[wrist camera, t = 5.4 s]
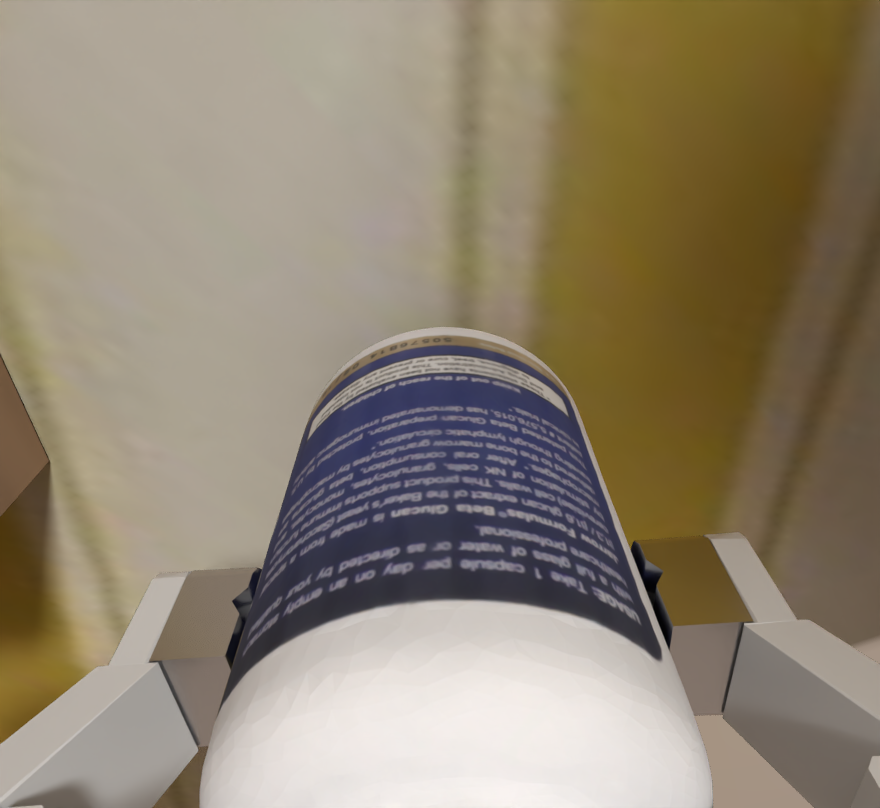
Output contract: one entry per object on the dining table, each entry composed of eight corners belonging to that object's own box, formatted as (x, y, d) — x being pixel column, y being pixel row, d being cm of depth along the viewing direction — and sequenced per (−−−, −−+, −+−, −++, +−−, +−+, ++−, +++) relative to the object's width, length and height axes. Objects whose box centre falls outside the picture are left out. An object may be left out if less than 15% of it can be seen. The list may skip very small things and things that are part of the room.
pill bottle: (250, 399, 12) (-153, 1232, 4) (506, 265, 11) (762, 1069, 2) (396, 579, 15) (349, 1330, 6) (620, 486, 13) (941, 1273, 5)
